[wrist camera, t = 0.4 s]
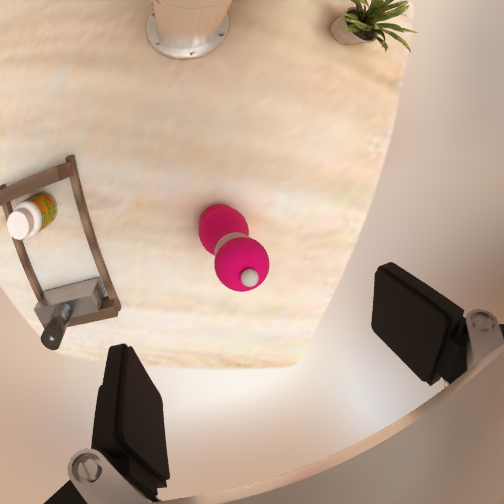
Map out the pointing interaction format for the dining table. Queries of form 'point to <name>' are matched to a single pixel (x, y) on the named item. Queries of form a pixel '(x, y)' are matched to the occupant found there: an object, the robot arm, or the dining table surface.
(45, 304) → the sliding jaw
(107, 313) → the vise frame
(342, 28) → the house plant
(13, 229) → the supplement bottle
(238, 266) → the pepper mill
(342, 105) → the dining table surface
